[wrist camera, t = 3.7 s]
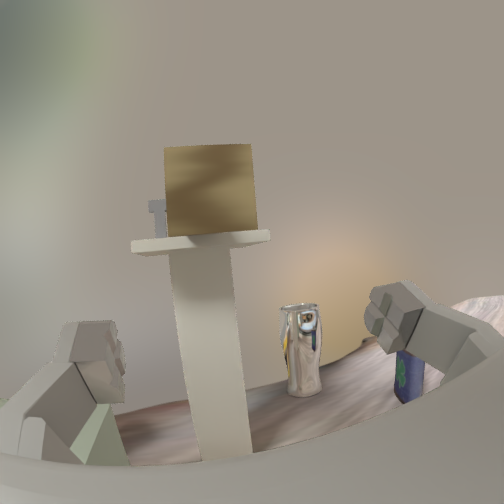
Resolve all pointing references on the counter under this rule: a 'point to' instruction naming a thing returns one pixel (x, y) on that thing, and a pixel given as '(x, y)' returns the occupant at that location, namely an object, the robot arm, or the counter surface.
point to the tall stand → (207, 331)
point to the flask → (408, 376)
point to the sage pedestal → (98, 439)
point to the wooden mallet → (209, 189)
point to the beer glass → (301, 347)
